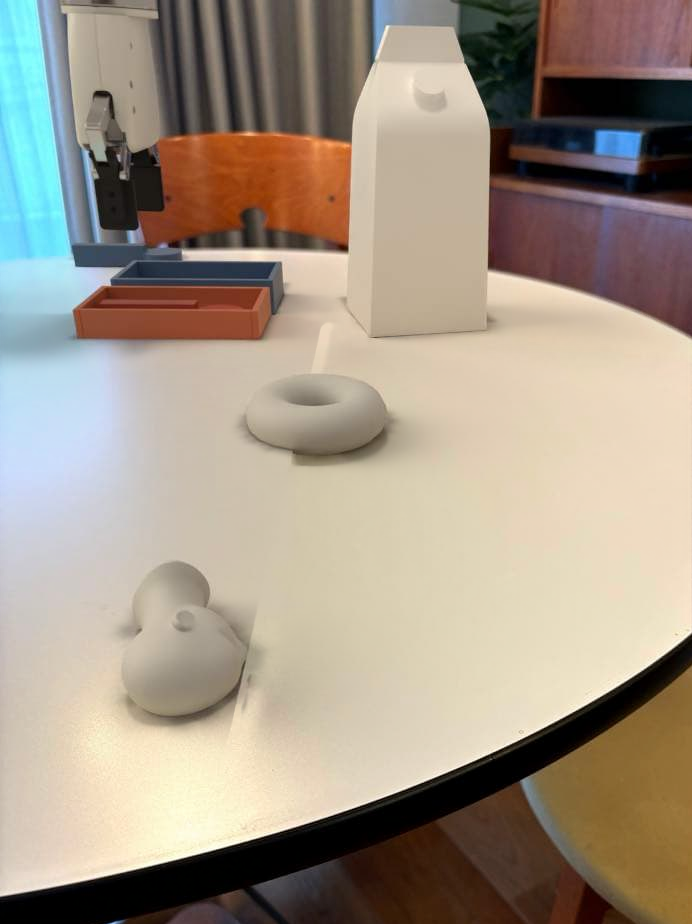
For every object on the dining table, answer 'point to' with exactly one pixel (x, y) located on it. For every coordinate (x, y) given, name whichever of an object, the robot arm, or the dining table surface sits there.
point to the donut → (316, 413)
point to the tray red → (175, 313)
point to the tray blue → (205, 275)
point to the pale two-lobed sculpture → (179, 645)
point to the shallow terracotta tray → (160, 304)
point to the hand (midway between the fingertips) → (134, 219)
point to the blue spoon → (120, 254)
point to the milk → (419, 190)
